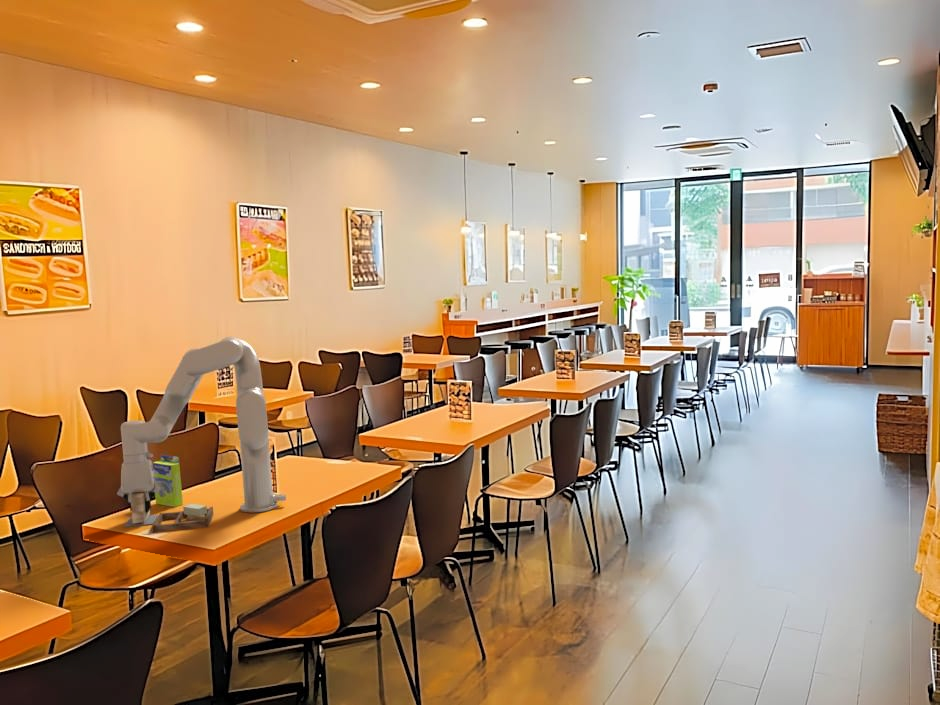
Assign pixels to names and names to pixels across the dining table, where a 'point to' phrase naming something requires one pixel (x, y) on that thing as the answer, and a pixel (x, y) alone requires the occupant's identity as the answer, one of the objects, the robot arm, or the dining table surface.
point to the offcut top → (195, 510)
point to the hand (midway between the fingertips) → (141, 511)
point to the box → (168, 481)
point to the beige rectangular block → (138, 507)
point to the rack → (178, 524)
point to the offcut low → (195, 518)
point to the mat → (148, 521)
